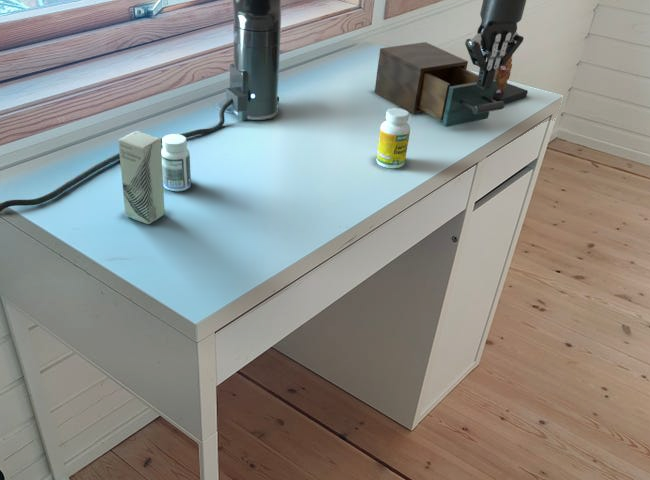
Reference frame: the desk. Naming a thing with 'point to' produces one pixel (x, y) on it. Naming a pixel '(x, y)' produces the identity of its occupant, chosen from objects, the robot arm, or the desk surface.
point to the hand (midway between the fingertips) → (483, 88)
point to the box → (142, 176)
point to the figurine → (506, 85)
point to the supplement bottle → (393, 139)
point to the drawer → (456, 96)
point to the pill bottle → (175, 163)
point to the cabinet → (410, 72)
